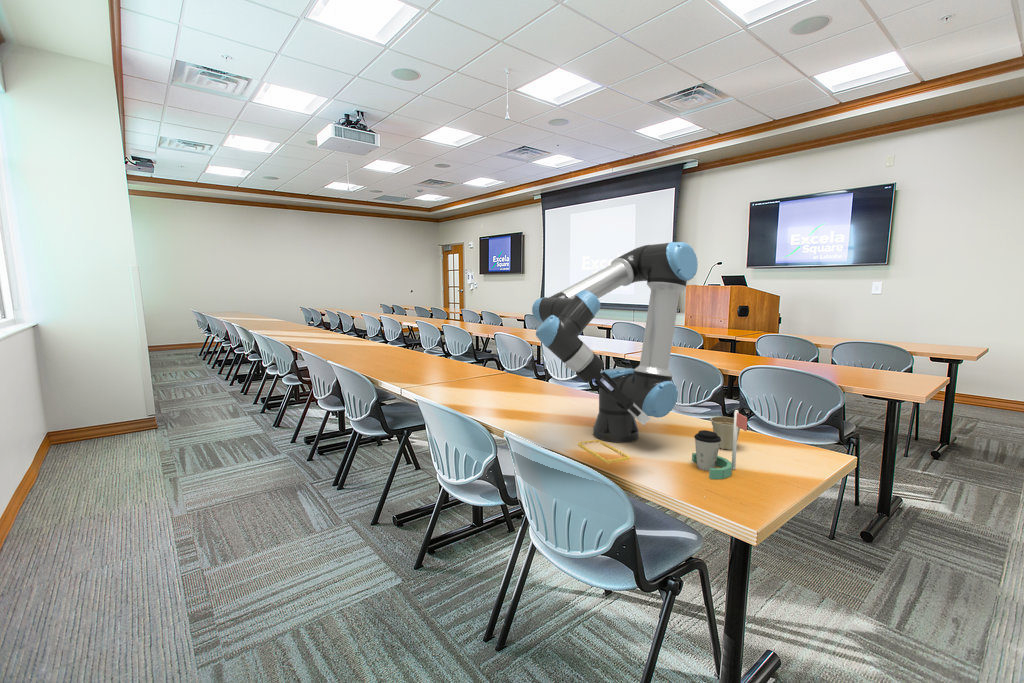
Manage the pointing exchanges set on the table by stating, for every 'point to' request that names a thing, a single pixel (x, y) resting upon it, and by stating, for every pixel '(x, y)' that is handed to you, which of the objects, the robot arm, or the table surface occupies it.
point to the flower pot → (724, 431)
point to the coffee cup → (706, 449)
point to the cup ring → (718, 472)
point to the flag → (738, 422)
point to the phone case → (602, 457)
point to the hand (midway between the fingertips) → (646, 421)
